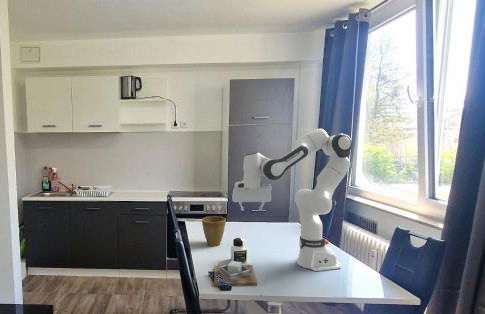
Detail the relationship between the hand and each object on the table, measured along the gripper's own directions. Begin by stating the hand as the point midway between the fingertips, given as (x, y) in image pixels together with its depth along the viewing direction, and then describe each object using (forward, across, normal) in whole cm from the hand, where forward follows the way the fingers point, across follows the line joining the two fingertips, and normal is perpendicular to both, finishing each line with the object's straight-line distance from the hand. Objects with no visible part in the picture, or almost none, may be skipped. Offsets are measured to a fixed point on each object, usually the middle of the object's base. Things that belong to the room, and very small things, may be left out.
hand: (251, 210), depth 150 cm
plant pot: (+29, +20, -32) cm, 47 cm away
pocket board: (+28, +9, +13) cm, 33 cm away
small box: (+28, +10, +13) cm, 32 cm away
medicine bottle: (+29, +6, -5) cm, 30 cm away
